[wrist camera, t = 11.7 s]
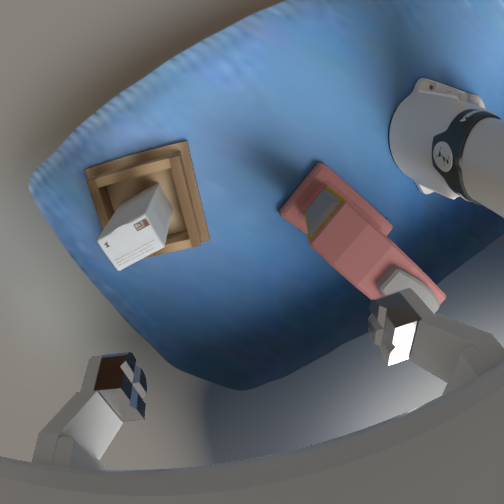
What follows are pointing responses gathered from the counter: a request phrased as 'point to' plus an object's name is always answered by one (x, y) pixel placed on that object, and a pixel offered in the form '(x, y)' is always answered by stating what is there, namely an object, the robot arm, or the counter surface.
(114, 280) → the counter surface
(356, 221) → the pink blocky piece
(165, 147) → the wooden tray
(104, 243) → the skincare box
